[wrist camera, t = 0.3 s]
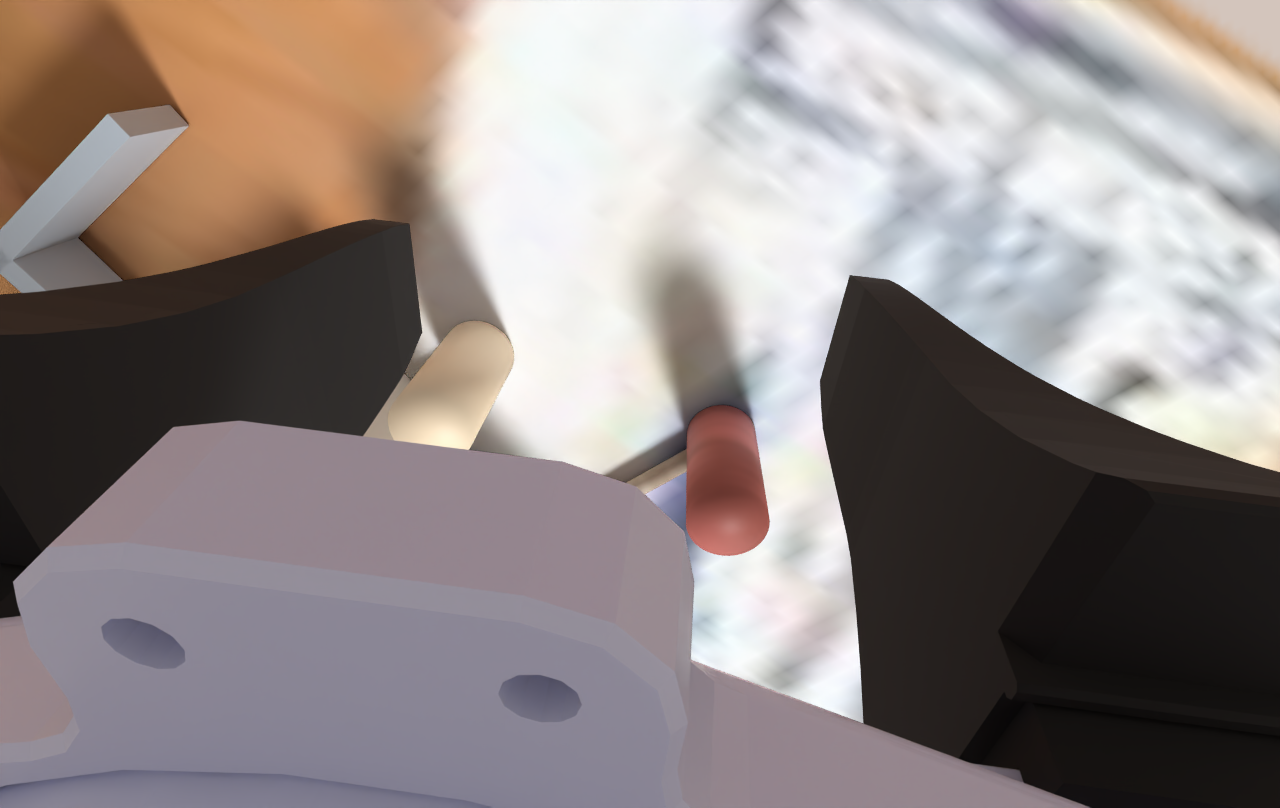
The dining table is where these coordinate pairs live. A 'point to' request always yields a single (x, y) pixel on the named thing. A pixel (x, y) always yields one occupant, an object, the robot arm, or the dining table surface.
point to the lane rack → (82, 201)
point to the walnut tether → (718, 482)
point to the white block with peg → (449, 390)
